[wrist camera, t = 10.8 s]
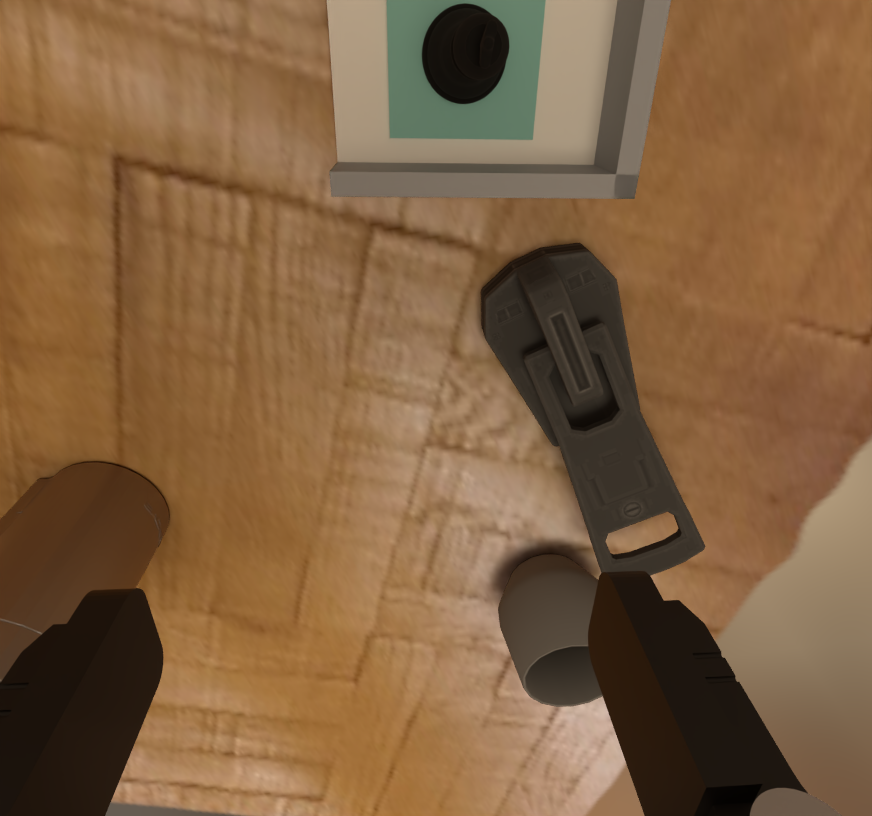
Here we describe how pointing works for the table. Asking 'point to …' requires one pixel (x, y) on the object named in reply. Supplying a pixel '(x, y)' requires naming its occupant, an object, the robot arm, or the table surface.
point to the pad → (441, 119)
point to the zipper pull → (586, 396)
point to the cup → (551, 629)
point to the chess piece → (465, 53)
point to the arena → (554, 116)
